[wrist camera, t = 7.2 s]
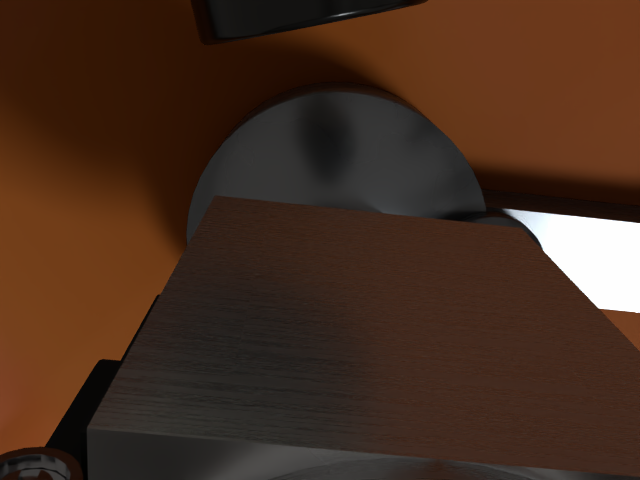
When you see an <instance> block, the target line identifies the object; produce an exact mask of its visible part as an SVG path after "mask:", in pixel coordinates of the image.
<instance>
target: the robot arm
mask: <svg viewBox="0 0 640 480" xmlns="http://www.w3.org/2000/svg"><path fill="white" fill-rule="evenodd" d="M159 296H160V295H157V296H156V298H155V300H154V302H153V304H152V305H151V307H150V309H149V311H148V312H147V314H146V316H145V318H144V320H143V321H142V323H141V325H140V327H139V329H138V330H137V332H136V334H135V336H134V337H133V339H132V341H131V343H130V345H129V346H128V348H127V350H126V352H125V354H124V355H123V357H122V359H121V361H117V360H106V359H102V360H99V362H98V363H97V364H96V365H95V367H94V369H93V370H92V372H91V373H90V375H89V377H88V378H87V380H86V381H85V383H84V385H83V386H82V388H81V389H80V391H79V393H78V394H77V396H76V397H75V399H74V401H73V402H72V404H71V405H70V407H69V409H68V410H67V412H66V413H65V415H64V417H63V418H62V420H61V421H60V423H59V425H58V426H57V428H56V430H55V431H54V433H53V434H52V436H51V438H50V439H49V441H48V442H47V444H46V446H45V447H31V448H22V449H18V450H14V451H10V452H6V453H4V454H2V455H0V480H88V459H87V427H88V425H89V423H90V422H91V420H92V418H93V416H94V414H95V412H96V411H97V409H98V407H99V405H100V403H101V402H102V400H103V398H104V396H105V394H106V392H107V391H108V389H109V387H110V385H111V383H112V382H113V380H114V378H115V376H116V374H117V372H118V371H119V369H120V367H121V365H122V363H123V362H124V360H125V358H126V356H127V354H128V352H129V351H130V349H131V347H132V345H133V343H134V342H135V340H136V338H137V336H138V334H139V332H140V331H141V329H142V327H143V325H144V323H145V322H146V320H147V318H148V316H149V314H150V312H151V311H152V309H153V307H154V305H155V303H156V302H157V300H158V298H159Z"/></svg>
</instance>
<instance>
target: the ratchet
mask: <svg viewBox="0 0 640 480" xmlns="http://www.w3.org/2000/svg"><path fill="white" fill-rule="evenodd" d="M215 195H217V196H226V197H236V198H245V199H254V200H264V201H273V202H283V203H292V204H301V205H311V206H320V207H330V208H339V209H348V210H358V211H367V212H377V213H386V214H395V215H405V216H414V217H424V218H433V219H442V220H452V221H461V222H470V223H480V224H489V225H499V226H508V227H517V228H522V229H523V230H524V231H525V232H526V233H527V234H528V235H529V236H530V237H531V239H532V240H533V241H534V242H535V243H536V244H537V245H538V246H539V247H540V248H541V249H542V250H543V251H544V252H545V253H546V254H547V255H548V256H549V257H550V258H551V259H552V260H553V261H554V262H555V263H556V265H557V266H558V267H559V268H560V269H561V270H562V271H563V272H564V273H565V274H566V275H567V276H568V277H569V278H570V279H571V280H572V281H573V282H574V283H575V284H576V285H577V286H578V287H579V288H580V290H581V291H582V292H583V293H584V294H585V295H586V296H587V297H588V298H589V299H590V300H591V301H592V302H593V303H594V304H595V305H596V306H597V307H598V308H601V309H611V310H621V311H631V312H640V206H633V205H624V204H615V203H606V202H596V201H587V200H578V199H569V198H560V197H551V196H541V195H532V194H523V193H514V192H505V191H495V190H486V189H481V188H480V186H479V184H478V181H477V179H476V177H475V174H474V172H473V170H472V169H471V167H470V165H469V164H468V162H467V160H466V159H465V157H464V156H463V154H462V153H461V152H460V150H459V149H458V148H457V147H456V146H455V145H454V143H453V142H452V141H451V140H450V139H449V138H448V137H447V136H446V135H445V134H444V133H443V132H442V131H441V130H440V129H439V128H437V127H436V126H435V125H434V124H433V123H432V122H431V121H430V120H429V119H428V118H427V117H425V116H424V115H423V114H422V113H421V112H420V111H419V110H418V109H416V108H415V107H413V106H412V105H410V104H409V103H407V102H406V101H404V100H403V99H401V98H399V97H397V96H395V95H393V94H391V93H388V92H386V91H383V90H380V89H377V88H374V87H371V86H367V85H362V84H356V83H349V82H325V83H314V84H310V85H305V86H301V87H296V88H294V89H291V90H288V91H286V92H283V93H280V94H278V95H276V96H275V97H273V98H271V99H269V100H267V101H265V102H263V103H262V104H261V105H259V106H258V107H256V108H255V109H254V110H252V111H251V112H250V113H248V114H247V115H246V116H245V117H244V118H243V119H242V120H241V121H240V122H239V123H238V124H237V125H236V126H235V127H234V129H233V130H232V131H231V132H230V134H229V135H228V136H227V137H226V139H225V140H224V141H223V143H222V144H221V146H220V147H219V148H218V150H217V151H216V153H215V154H214V155H213V157H212V158H211V160H210V161H209V163H208V165H207V166H206V168H205V170H204V172H203V173H202V175H201V177H200V179H199V182H198V184H197V187H196V189H195V191H194V194H193V197H192V201H191V205H190V209H189V214H188V223H187V245H188V243H189V242H190V240H191V238H192V236H193V234H194V233H195V231H196V229H197V227H198V225H199V223H200V222H201V220H202V218H203V216H204V214H205V213H206V211H207V209H208V207H209V205H210V203H211V202H212V200H213V198H214V196H215Z"/></svg>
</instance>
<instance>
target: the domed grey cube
mask: <svg viewBox="0 0 640 480" xmlns="http://www.w3.org/2000/svg"><path fill="white" fill-rule="evenodd" d="M87 459H88V480H640V351H639V350H638V349H637V348H636V347H635V346H634V345H633V344H632V343H631V342H630V341H629V340H628V338H627V337H626V336H625V335H624V334H623V333H622V332H621V331H620V330H619V329H618V328H617V327H616V326H615V325H614V324H613V323H612V322H611V321H610V320H609V319H608V318H607V317H606V316H605V315H604V313H603V312H602V311H601V310H600V309H599V308H598V307H597V306H596V305H595V304H594V303H593V302H592V301H591V300H590V299H589V298H588V297H587V296H586V295H585V294H584V293H583V292H582V291H581V290H580V288H579V287H578V286H577V285H576V284H575V283H574V282H573V281H572V280H571V279H570V278H569V277H568V276H567V275H566V274H565V273H564V272H563V271H562V270H561V269H560V268H559V267H558V266H557V265H556V263H555V262H554V261H553V260H552V259H551V258H550V257H549V256H548V255H547V254H546V253H545V252H544V251H543V250H542V249H541V248H540V247H539V246H538V245H537V244H536V243H535V242H534V241H533V240H532V239H531V237H530V236H529V235H528V234H527V233H526V232H525V231H524V230H523V229H522V228H517V227H508V226H499V225H489V224H480V223H470V222H461V221H452V220H442V219H433V218H424V217H414V216H405V215H395V214H386V213H377V212H367V211H358V210H348V209H339V208H330V207H320V206H311V205H301V204H292V203H283V202H273V201H264V200H254V199H245V198H236V197H226V196H217V195H215V196H214V198H213V200H212V202H211V203H210V205H209V207H208V209H207V211H206V213H205V214H204V216H203V218H202V220H201V222H200V223H199V225H198V227H197V229H196V231H195V233H194V234H193V236H192V238H191V240H190V242H189V243H188V245H187V247H186V249H185V251H184V253H183V254H182V256H181V258H180V260H179V262H178V263H177V265H176V267H175V269H174V271H173V273H172V274H171V276H170V278H169V280H168V282H167V283H166V285H165V287H164V289H163V291H162V293H161V294H160V296H159V298H158V300H157V302H156V303H155V305H154V307H153V309H152V311H151V312H150V314H149V316H148V318H147V320H146V322H145V323H144V325H143V327H142V329H141V331H140V332H139V334H138V336H137V338H136V340H135V342H134V343H133V345H132V347H131V349H130V351H129V352H128V354H127V356H126V358H125V360H124V362H123V363H122V365H121V367H120V369H119V371H118V372H117V374H116V376H115V378H114V380H113V382H112V383H111V385H110V387H109V389H108V391H107V392H106V394H105V396H104V398H103V400H102V402H101V403H100V405H99V407H98V409H97V411H96V412H95V414H94V416H93V418H92V420H91V422H90V423H89V425H88V427H87Z"/></svg>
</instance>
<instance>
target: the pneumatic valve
mask: <svg viewBox="0 0 640 480" xmlns="http://www.w3.org/2000/svg"><path fill="white" fill-rule="evenodd" d="M427 1H428V0H191V5H192V9H193V13H194V17H195V21H196V26H197V30H198V34H199V38H200V41H201V43H202V44H204V45H213V44H220V43H226V42H231V41H237V40H243V39H248V38H254V37H259V36H264V35H270V34H275V33H280V32H286V31H291V30H296V29H301V28H306V27H312V26H317V25H322V24H327V23H332V22H337V21H342V20H347V19H352V18H357V17H362V16H367V15H372V14H377V13H381V12H386V11H391V10H396V9H400V8H405V7H409V6H414V5H418V4H422V3H425V2H427Z"/></svg>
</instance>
